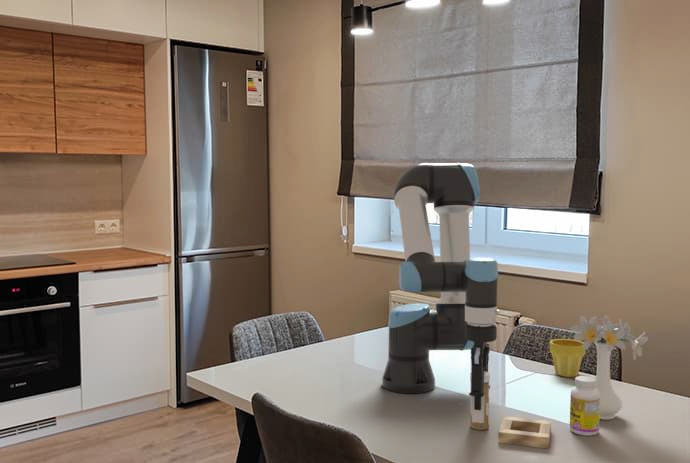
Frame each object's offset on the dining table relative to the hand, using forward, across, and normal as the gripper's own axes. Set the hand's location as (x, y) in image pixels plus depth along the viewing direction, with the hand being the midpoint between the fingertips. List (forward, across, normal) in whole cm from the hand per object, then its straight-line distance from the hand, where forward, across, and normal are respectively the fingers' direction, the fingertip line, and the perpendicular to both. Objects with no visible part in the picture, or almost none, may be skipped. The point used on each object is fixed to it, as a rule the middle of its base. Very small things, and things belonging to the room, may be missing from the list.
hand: (479, 418), depth 171 cm
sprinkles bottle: (+2, 0, 0) cm, 2 cm away
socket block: (+2, -3, -11) cm, 12 cm away
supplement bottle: (+2, +5, -24) cm, 25 cm away
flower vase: (+2, +18, -29) cm, 34 cm away
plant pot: (+2, +54, -19) cm, 57 cm away
